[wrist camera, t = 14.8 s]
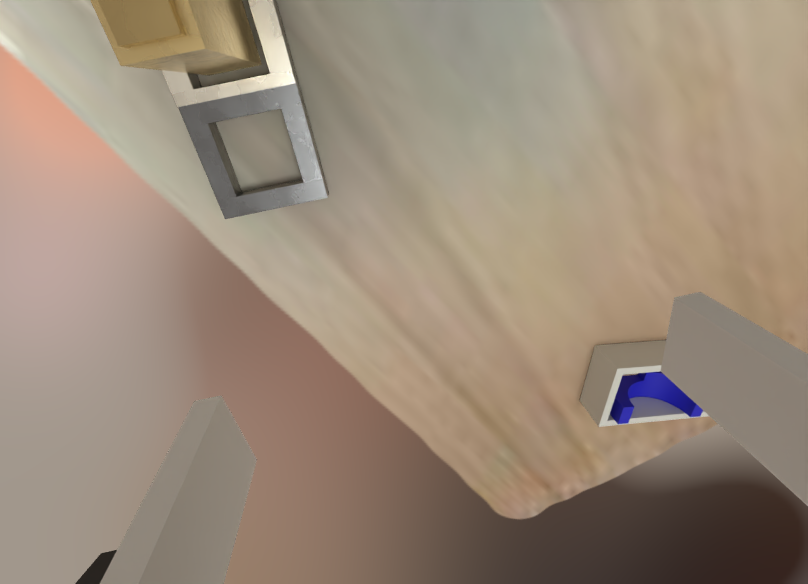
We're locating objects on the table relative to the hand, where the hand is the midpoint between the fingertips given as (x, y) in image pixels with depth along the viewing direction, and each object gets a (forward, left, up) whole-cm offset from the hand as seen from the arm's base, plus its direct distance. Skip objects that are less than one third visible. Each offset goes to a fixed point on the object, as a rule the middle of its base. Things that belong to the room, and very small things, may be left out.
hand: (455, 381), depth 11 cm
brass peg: (-12, -13, -31) cm, 35 cm away
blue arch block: (+30, +36, -31) cm, 56 cm away
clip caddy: (+28, +37, -31) cm, 56 cm away
